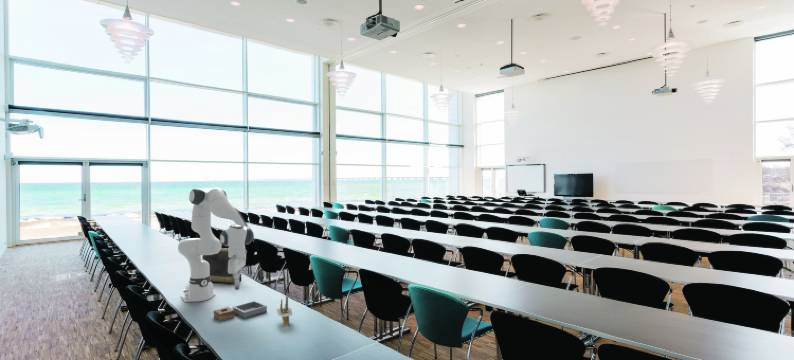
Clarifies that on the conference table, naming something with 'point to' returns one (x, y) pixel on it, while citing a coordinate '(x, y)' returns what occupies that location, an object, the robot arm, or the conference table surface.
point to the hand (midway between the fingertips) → (237, 277)
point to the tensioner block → (224, 313)
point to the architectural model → (285, 312)
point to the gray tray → (250, 309)
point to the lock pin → (237, 283)
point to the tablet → (220, 267)
